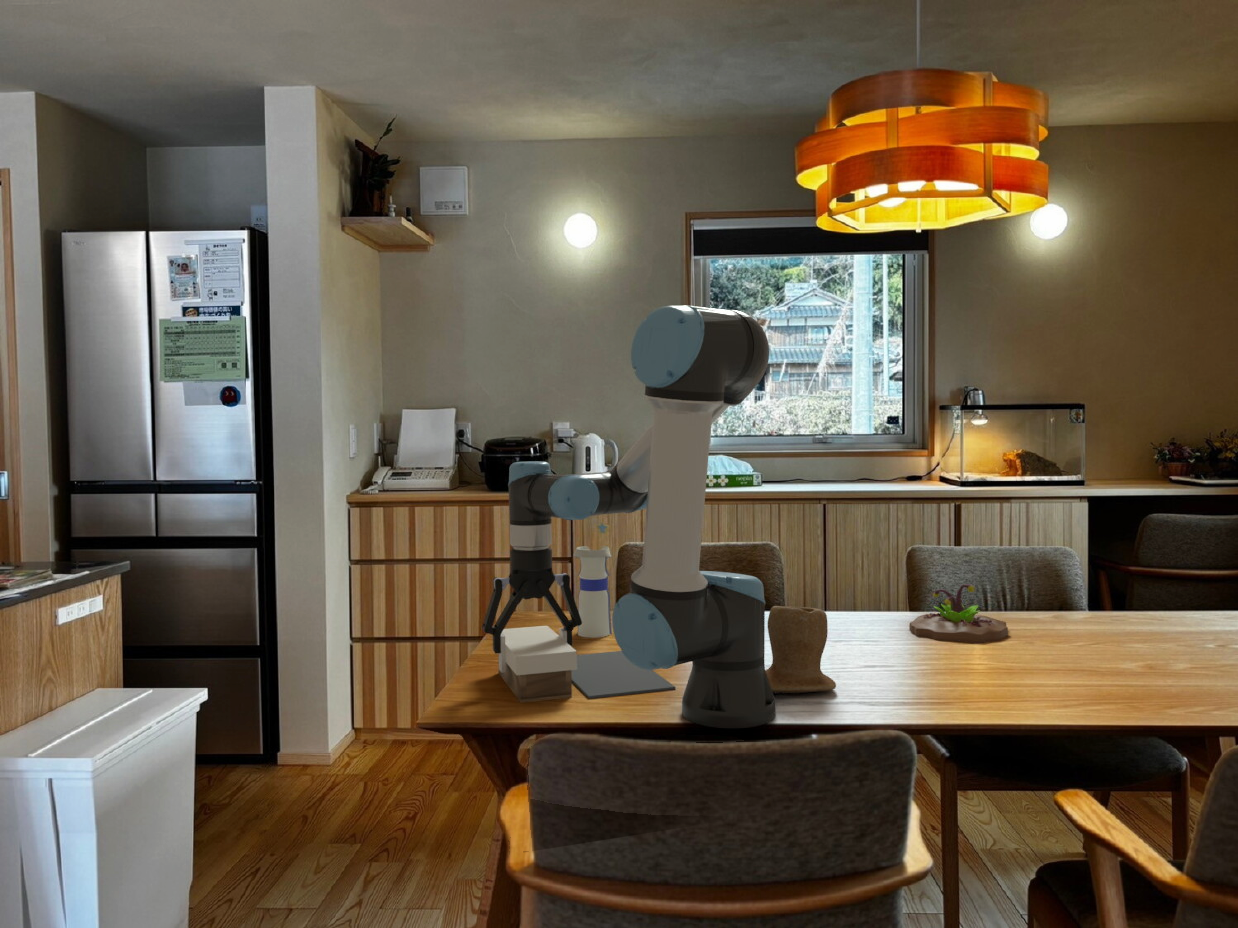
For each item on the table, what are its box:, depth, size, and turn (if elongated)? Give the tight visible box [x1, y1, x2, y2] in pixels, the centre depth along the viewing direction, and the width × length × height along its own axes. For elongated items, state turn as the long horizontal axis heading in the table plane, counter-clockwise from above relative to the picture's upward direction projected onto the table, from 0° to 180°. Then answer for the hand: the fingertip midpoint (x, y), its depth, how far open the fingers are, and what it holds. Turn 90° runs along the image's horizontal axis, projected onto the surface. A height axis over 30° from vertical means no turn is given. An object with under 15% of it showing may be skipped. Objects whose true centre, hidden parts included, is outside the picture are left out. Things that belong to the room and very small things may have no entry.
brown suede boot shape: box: [765, 605, 837, 694], centre depth 168 cm, size 15×12×15 cm
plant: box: [908, 583, 1009, 644], centre depth 210 cm, size 20×20×11 cm
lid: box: [502, 625, 578, 675], centre depth 173 cm, size 22×11×3 cm, turn 18°
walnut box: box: [497, 653, 573, 704], centre depth 173 cm, size 20×9×7 cm, turn 18°
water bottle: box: [572, 520, 613, 639], centre depth 213 cm, size 8×9×25 cm
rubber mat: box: [571, 650, 676, 700], centre depth 180 cm, size 28×16×1 cm, turn 18°
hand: (533, 667), depth 173 cm, fingers closed on lid, 11 cm apart
